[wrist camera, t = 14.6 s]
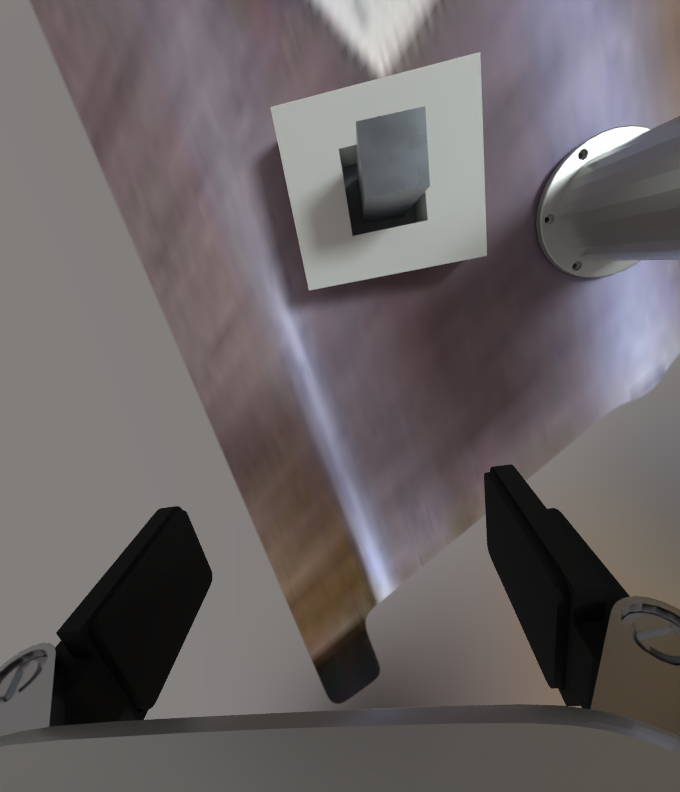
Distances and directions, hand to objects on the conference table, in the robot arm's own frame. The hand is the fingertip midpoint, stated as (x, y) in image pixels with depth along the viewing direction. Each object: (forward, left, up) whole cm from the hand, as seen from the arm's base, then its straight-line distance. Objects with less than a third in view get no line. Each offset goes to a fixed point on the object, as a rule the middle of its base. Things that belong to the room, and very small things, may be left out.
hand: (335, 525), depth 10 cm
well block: (-5, -13, -30) cm, 33 cm away
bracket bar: (-5, -13, -30) cm, 33 cm away
